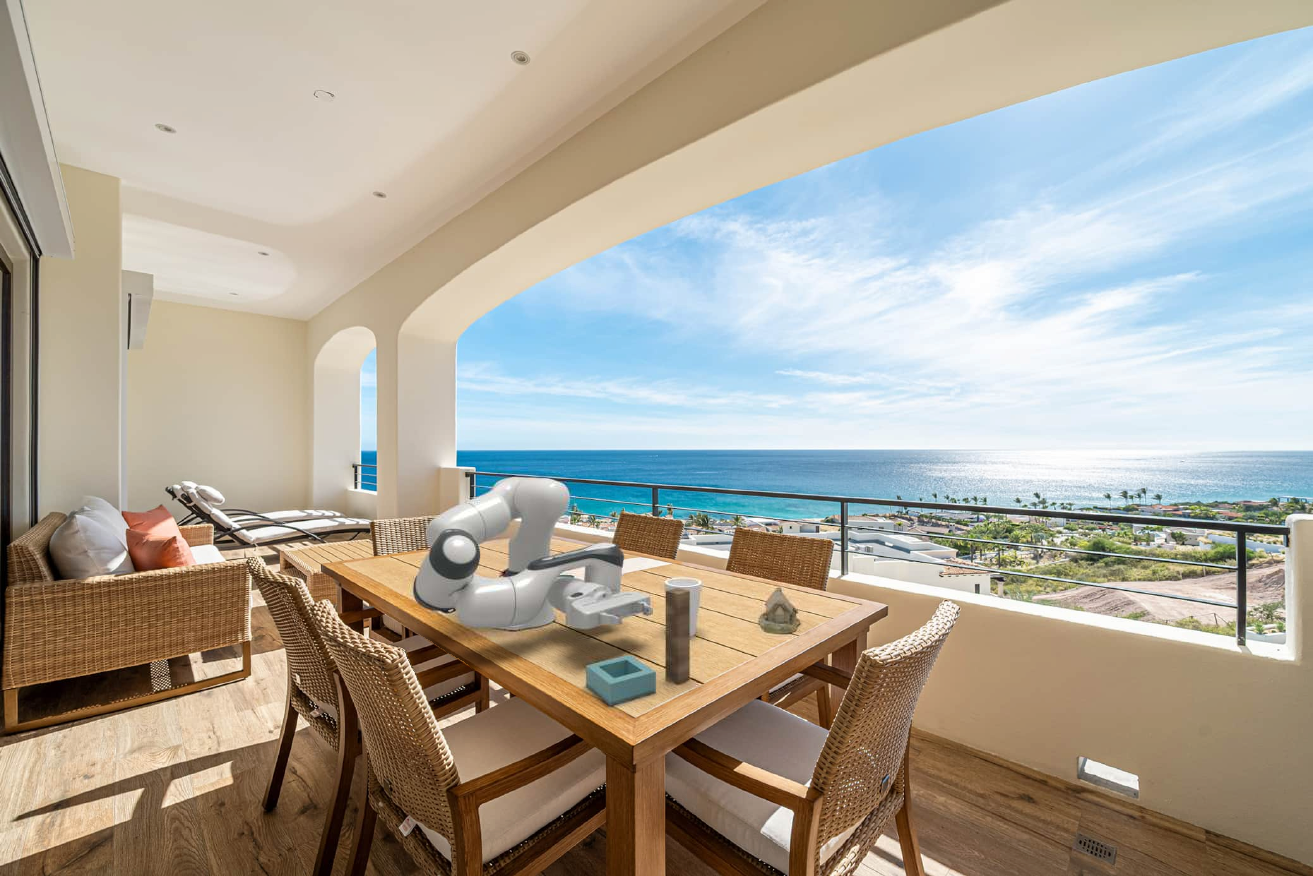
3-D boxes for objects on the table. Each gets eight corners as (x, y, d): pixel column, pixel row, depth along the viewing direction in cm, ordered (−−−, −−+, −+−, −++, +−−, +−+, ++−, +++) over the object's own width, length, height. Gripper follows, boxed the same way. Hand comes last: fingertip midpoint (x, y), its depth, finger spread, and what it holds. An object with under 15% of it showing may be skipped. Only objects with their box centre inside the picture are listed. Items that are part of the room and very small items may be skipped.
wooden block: (665, 679, 109) (665, 591, 109) (676, 674, 112) (676, 587, 112) (678, 685, 107) (678, 594, 107) (689, 679, 109) (689, 590, 109)
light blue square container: (586, 685, 106) (586, 665, 106) (629, 674, 112) (629, 654, 112) (610, 706, 98) (610, 684, 98) (655, 692, 103) (655, 671, 103)
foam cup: (687, 642, 130) (687, 588, 130) (657, 634, 135) (657, 583, 135) (708, 632, 137) (708, 581, 137) (678, 624, 143) (678, 576, 143)
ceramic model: (758, 616, 151) (758, 580, 151) (799, 618, 149) (799, 582, 149) (757, 633, 137) (757, 594, 137) (803, 636, 135) (803, 596, 135)
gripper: (627, 607, 134) (667, 619, 125) (560, 627, 120) (600, 642, 110) (627, 582, 135) (667, 592, 125) (560, 598, 120) (600, 612, 110)
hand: (635, 616), depth 117 cm, fingers open, 8 cm apart
